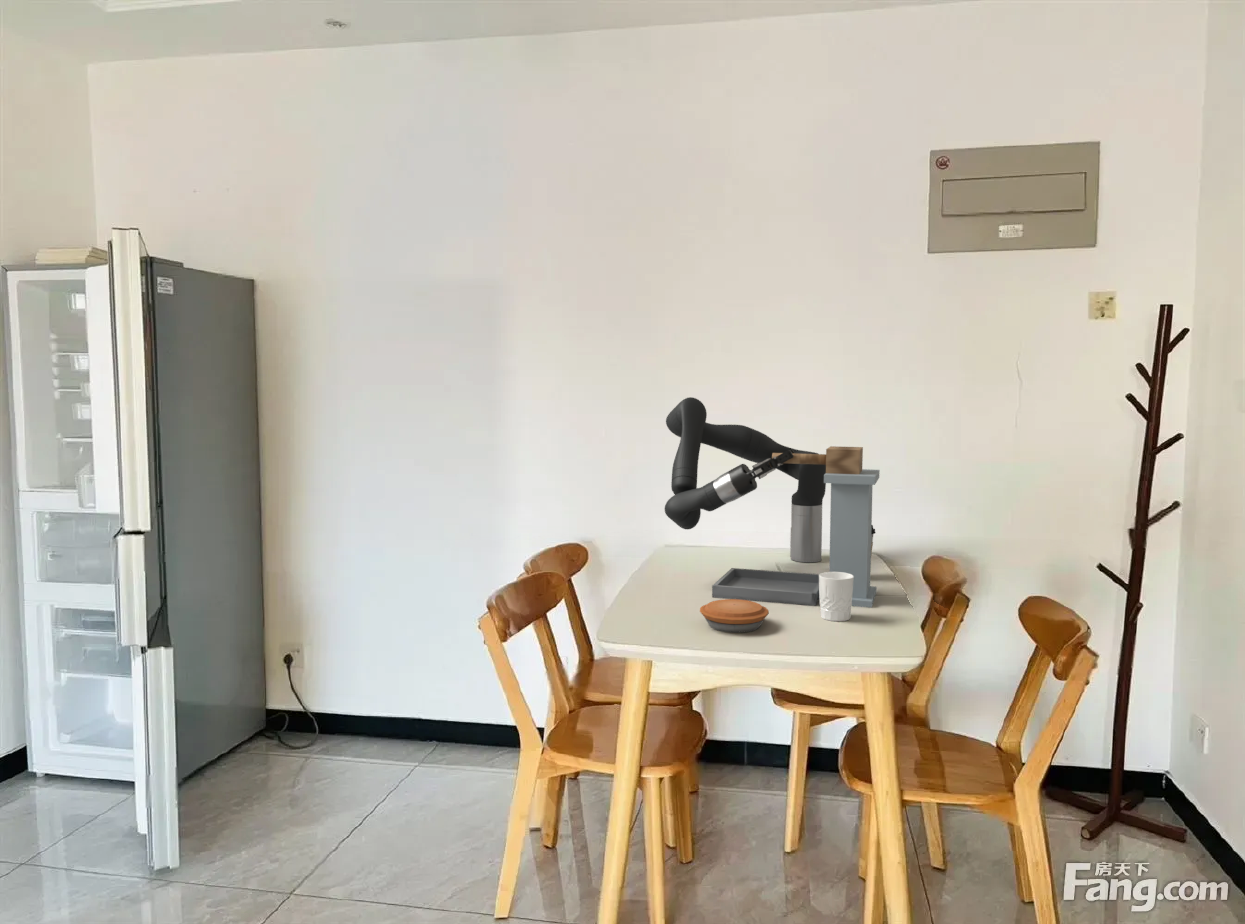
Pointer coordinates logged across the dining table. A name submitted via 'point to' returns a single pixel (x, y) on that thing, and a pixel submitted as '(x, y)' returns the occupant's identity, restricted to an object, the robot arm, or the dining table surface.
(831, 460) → the mallet
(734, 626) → the pie
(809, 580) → the tray
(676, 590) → the dining table surface
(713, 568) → the dining table surface
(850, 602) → the white cup
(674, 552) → the dining table surface
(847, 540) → the pedestal
